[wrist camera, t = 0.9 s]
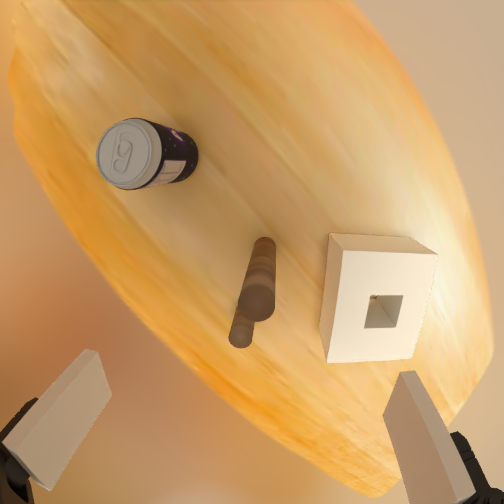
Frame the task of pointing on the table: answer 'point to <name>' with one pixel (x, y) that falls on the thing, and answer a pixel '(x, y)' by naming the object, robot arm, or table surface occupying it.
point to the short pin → (241, 331)
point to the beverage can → (144, 154)
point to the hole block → (386, 303)
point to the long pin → (259, 282)
